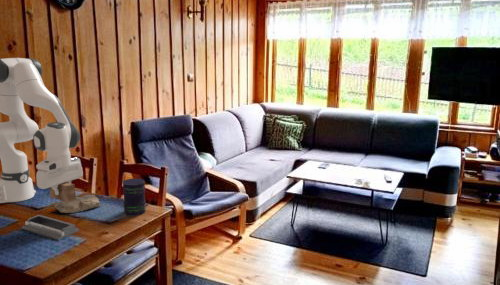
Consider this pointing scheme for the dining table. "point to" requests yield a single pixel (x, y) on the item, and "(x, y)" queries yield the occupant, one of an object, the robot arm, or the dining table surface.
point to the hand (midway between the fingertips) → (62, 192)
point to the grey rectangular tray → (49, 227)
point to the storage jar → (134, 196)
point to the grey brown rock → (78, 204)
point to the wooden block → (64, 192)
